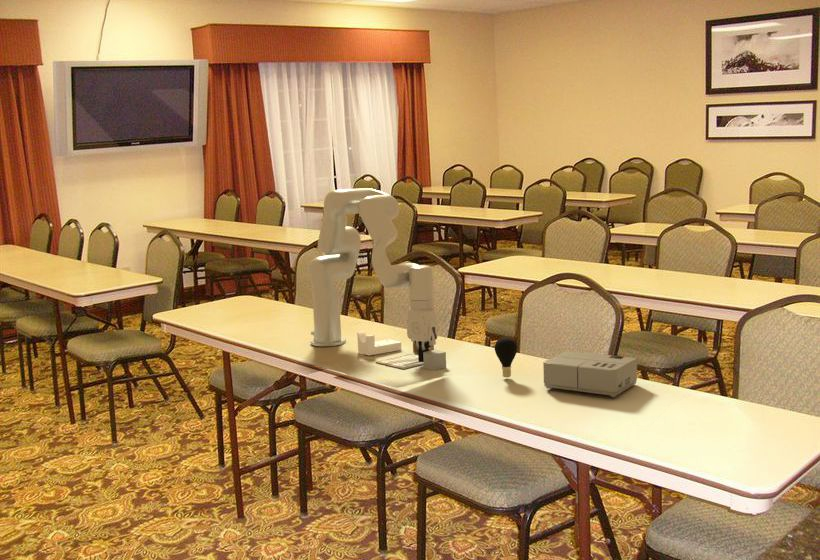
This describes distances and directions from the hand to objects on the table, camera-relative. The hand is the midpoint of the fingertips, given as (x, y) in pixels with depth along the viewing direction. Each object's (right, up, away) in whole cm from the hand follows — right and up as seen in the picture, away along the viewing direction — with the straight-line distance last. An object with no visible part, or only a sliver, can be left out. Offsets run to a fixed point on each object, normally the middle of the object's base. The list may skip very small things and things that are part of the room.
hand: (423, 361), depth 276 cm
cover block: (+2, +1, -2) cm, 3 cm away
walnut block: (0, +1, +18) cm, 18 cm away
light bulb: (+24, -3, -19) cm, 31 cm away
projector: (+46, -4, -31) cm, 56 cm away
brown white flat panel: (-5, -1, +6) cm, 8 cm away
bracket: (-15, 0, +21) cm, 26 cm away
